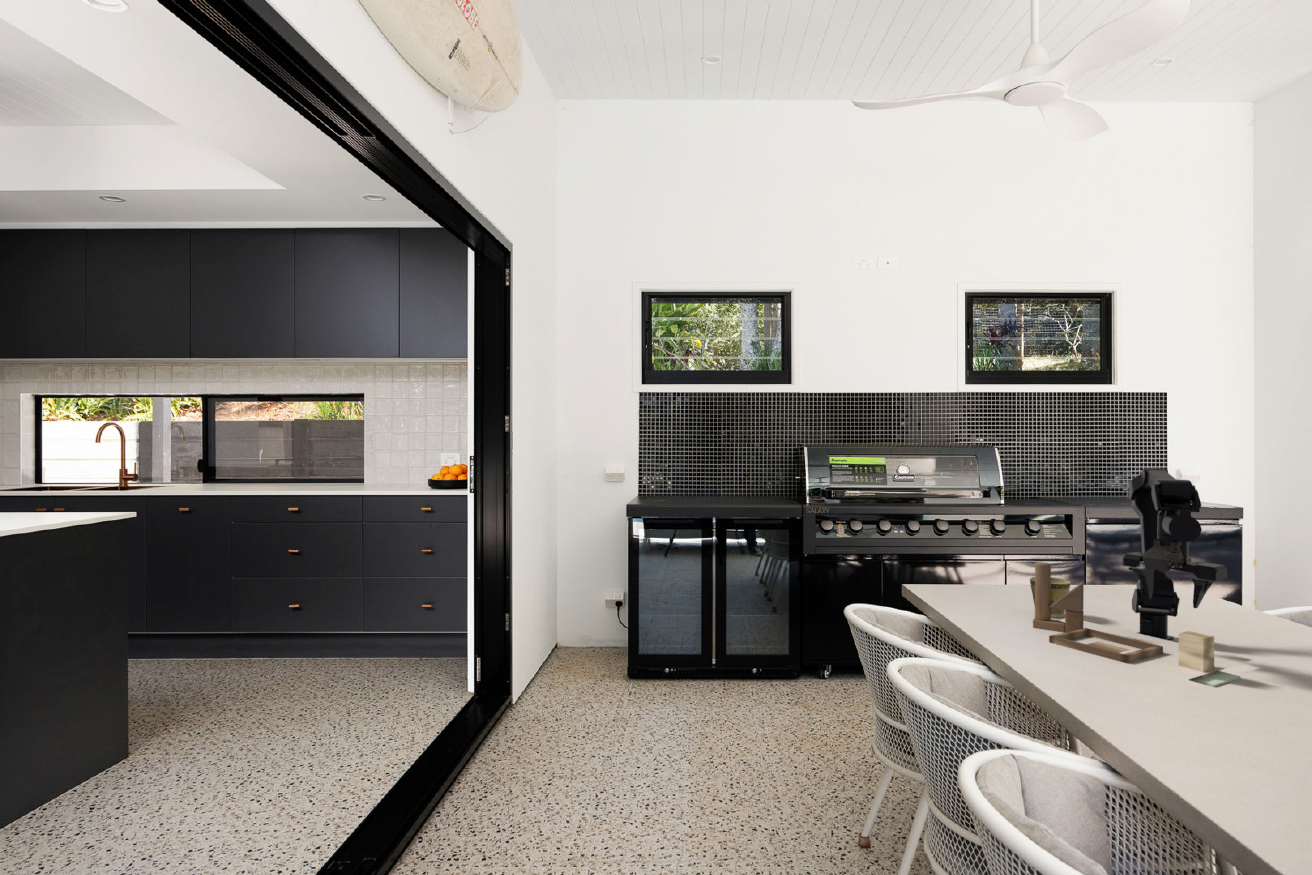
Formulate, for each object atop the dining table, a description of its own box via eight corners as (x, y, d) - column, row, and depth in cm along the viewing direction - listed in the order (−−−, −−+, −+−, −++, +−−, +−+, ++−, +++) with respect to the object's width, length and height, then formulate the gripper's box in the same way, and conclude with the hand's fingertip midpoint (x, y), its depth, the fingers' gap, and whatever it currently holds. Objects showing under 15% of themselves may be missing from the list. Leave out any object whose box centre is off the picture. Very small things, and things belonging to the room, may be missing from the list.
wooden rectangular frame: (1086, 640, 171) (1086, 627, 171) (1163, 659, 156) (1163, 646, 156) (1049, 648, 164) (1049, 635, 164) (1125, 669, 149) (1126, 655, 149)
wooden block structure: (1081, 641, 170) (1081, 568, 170) (1032, 633, 177) (1032, 563, 177) (1083, 638, 173) (1083, 566, 173) (1035, 630, 179) (1035, 561, 179)
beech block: (1189, 667, 149) (1189, 630, 149) (1214, 673, 145) (1214, 636, 145) (1178, 670, 147) (1178, 633, 147) (1203, 677, 143) (1203, 638, 143)
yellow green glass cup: (1078, 620, 190) (1078, 583, 190) (1041, 619, 190) (1041, 583, 190) (1051, 608, 203) (1051, 574, 203) (1017, 608, 203) (1017, 574, 203)
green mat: (1180, 662, 154) (1180, 661, 154) (1240, 678, 144) (1240, 676, 144) (1153, 670, 148) (1153, 668, 148) (1214, 686, 139) (1214, 684, 139)
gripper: (1109, 532, 161) (1108, 598, 161) (1203, 544, 144) (1202, 618, 145) (1135, 528, 166) (1134, 592, 167) (1229, 539, 150) (1228, 611, 150)
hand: (1172, 603), depth 157 cm, fingers open, 9 cm apart
